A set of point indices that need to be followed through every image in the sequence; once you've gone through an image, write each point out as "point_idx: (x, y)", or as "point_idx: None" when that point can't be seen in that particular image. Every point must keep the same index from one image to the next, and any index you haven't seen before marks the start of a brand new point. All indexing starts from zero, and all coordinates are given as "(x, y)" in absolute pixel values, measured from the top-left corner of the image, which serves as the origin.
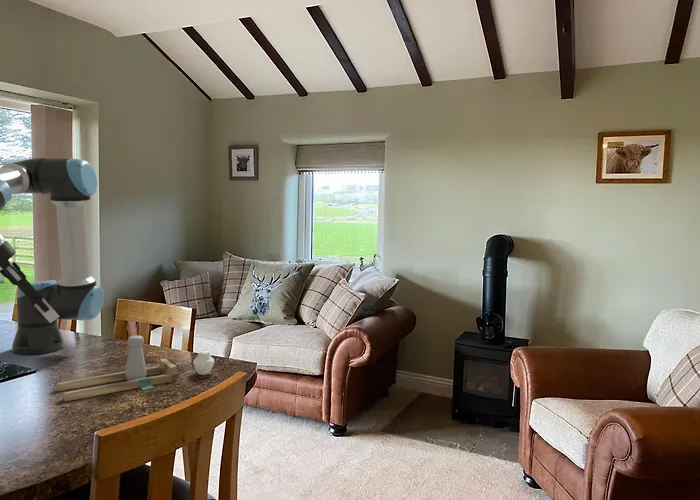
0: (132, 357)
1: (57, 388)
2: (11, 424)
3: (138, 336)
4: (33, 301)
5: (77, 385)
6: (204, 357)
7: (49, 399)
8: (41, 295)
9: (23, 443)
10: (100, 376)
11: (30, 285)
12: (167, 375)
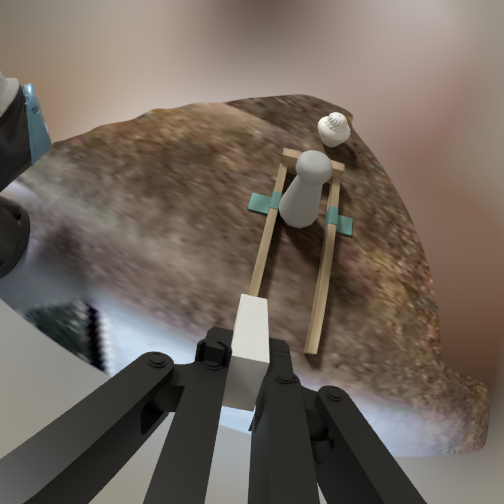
0: (315, 199)
1: None
2: None
3: (321, 157)
4: (331, 437)
5: None
6: (346, 126)
7: None
8: (340, 395)
9: (419, 438)
10: (263, 258)
11: (405, 486)
12: (339, 184)
